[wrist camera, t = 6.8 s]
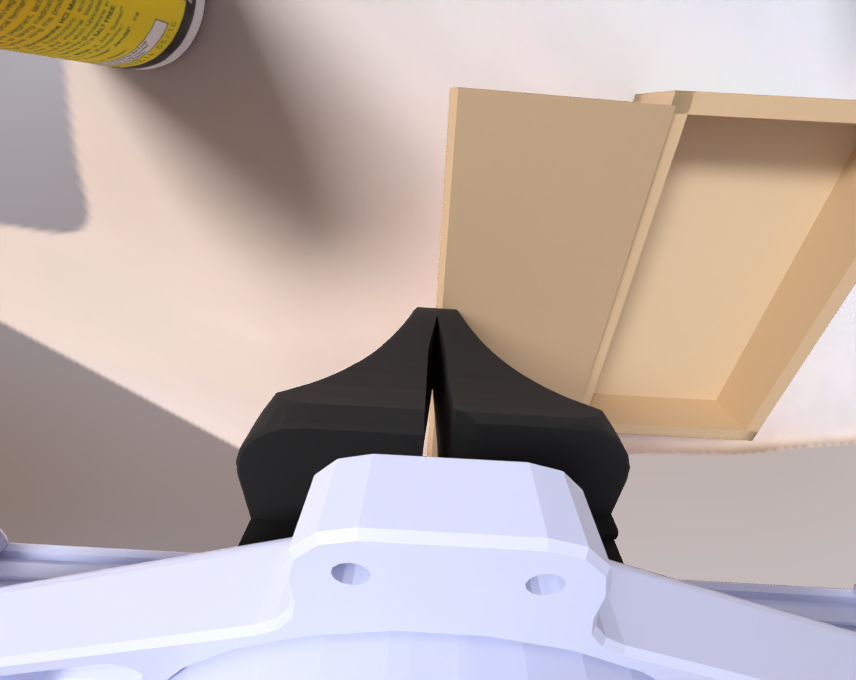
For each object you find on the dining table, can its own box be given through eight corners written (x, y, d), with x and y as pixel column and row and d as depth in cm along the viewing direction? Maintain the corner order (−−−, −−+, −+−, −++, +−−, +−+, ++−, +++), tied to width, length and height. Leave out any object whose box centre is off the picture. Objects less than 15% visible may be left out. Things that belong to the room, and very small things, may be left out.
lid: (458, 87, 9) (448, 87, 9) (430, 477, 15) (424, 468, 16) (676, 105, 12) (661, 105, 12) (572, 428, 18) (564, 422, 19)
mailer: (880, 107, 14) (972, 106, 12) (716, 403, 21) (751, 440, 19) (635, 94, 14) (675, 90, 12) (553, 394, 21) (568, 430, 19)
